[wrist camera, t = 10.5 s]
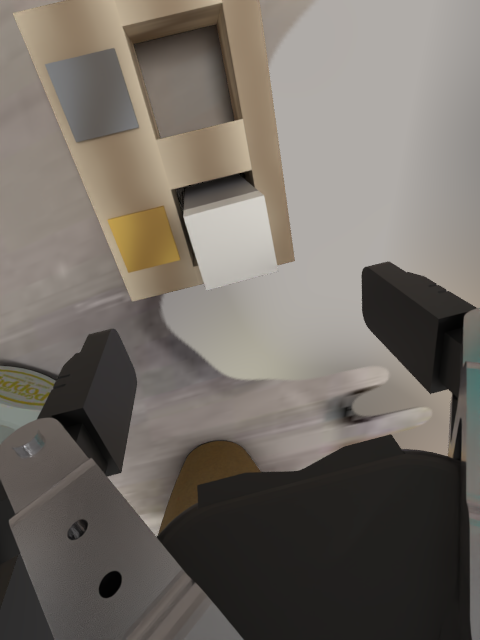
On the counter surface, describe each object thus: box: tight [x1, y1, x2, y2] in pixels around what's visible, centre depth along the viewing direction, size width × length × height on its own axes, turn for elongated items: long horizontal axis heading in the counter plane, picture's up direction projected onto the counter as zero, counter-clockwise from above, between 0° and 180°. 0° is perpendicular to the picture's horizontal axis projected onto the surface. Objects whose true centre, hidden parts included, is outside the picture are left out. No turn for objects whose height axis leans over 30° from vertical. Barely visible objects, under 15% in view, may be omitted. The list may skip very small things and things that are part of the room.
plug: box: [183, 174, 278, 291], centre depth 22 cm, size 4×4×10 cm
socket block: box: [13, 0, 295, 302], centre depth 22 cm, size 12×16×4 cm
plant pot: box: [158, 441, 260, 535], centre depth 33 cm, size 15×15×16 cm
